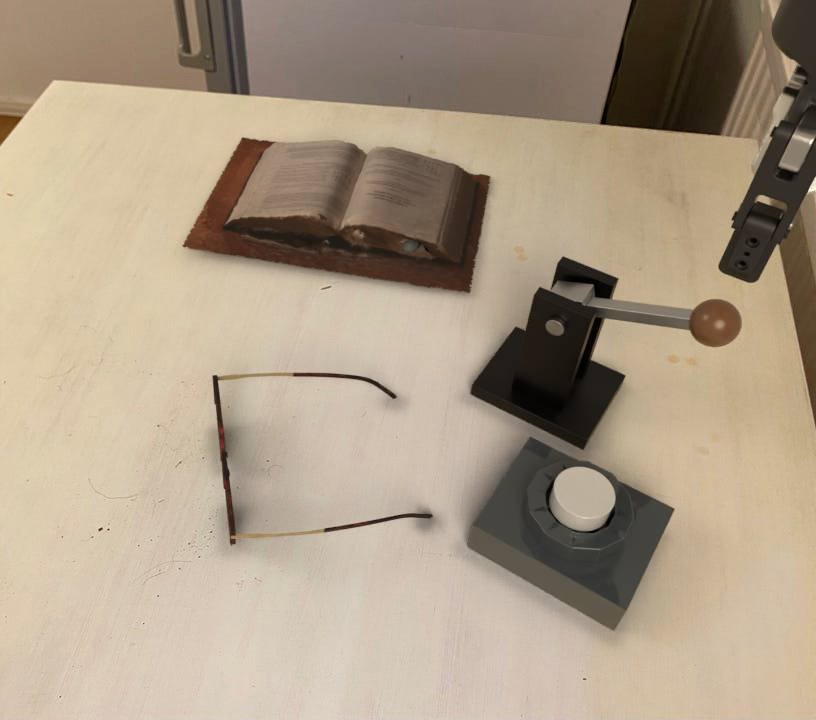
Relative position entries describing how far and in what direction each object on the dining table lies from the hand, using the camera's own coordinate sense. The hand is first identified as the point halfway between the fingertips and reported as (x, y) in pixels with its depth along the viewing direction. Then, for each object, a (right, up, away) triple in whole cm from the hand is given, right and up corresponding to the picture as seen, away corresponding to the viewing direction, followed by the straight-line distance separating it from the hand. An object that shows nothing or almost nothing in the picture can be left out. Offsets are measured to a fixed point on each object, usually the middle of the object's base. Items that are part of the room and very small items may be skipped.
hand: (758, 233), depth 48 cm
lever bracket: (-8, -10, +19) cm, 23 cm away
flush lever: (-3, -5, +10) cm, 12 cm away
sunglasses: (-26, -16, +15) cm, 34 cm away
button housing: (-9, -20, +10) cm, 24 cm away
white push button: (-9, -17, +7) cm, 20 cm away
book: (-24, +8, +35) cm, 43 cm away
